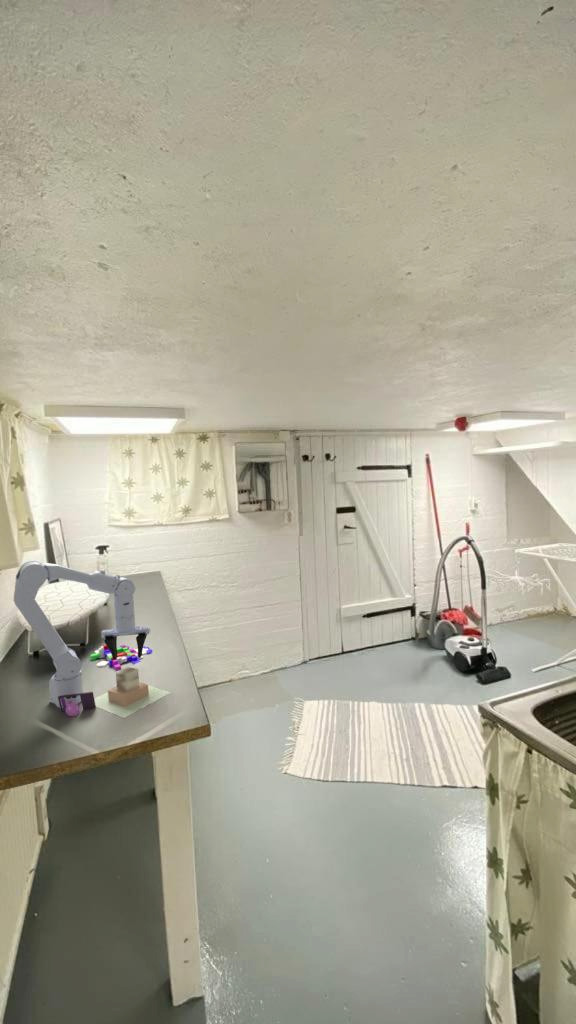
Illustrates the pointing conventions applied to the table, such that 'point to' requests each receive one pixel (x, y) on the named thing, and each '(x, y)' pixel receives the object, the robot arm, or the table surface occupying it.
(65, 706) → the purple and pink piece
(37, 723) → the table surface
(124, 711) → the base plate
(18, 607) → the robot arm
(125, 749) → the table surface
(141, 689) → the base brick
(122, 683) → the top brick
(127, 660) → the building block set
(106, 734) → the table surface
